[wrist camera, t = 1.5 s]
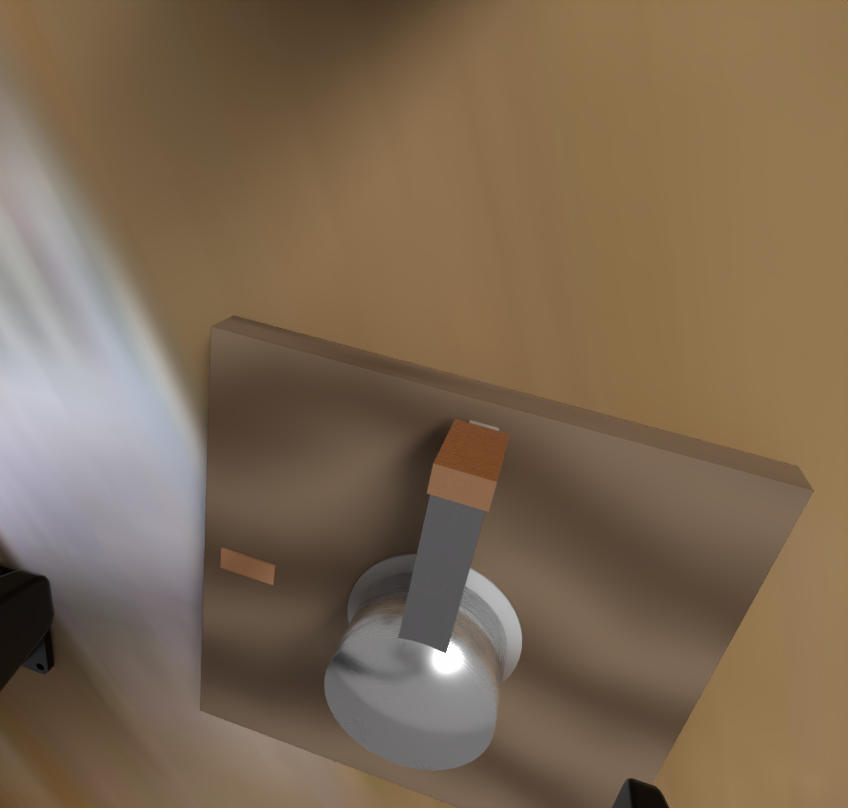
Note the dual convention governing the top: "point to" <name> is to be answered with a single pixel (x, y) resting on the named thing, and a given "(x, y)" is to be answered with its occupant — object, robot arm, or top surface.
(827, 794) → the top surface
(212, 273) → the top surface
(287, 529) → the lock board
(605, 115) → the top surface
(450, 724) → the lock knob
